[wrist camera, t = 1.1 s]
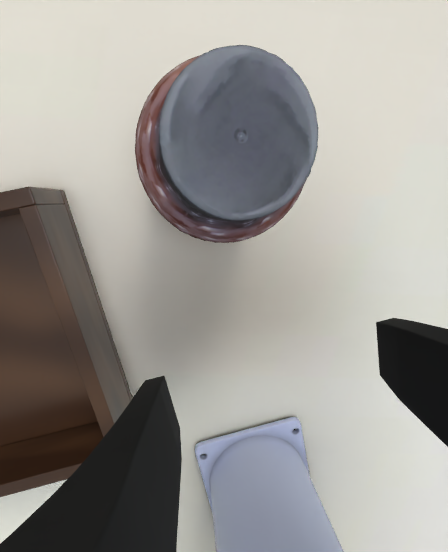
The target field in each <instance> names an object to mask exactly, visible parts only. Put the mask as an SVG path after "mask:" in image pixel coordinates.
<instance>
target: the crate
mask: <svg viewBox="0 0 448 552" xmlns="http://www.w3.org/2000/svg"><path fill="white" fill-rule="evenodd" d="M131 400H132V396H131V393H130V390H129V387H128V384H127V381H126V378H125V375H124V372H123V369H122V366H121V363H120V360H119V357H118V354H117V351H116V348H115V345H114V342H113V339H112V336H111V333H110V330H109V327H108V324H107V321H106V318H105V315H104V311H103V308H102V305H101V302H100V299H99V296H98V293H97V290H96V287H95V284H94V281H93V278H92V275H91V272H90V269H89V266H88V263H87V260H86V257H85V254H84V251H83V248H82V245H81V242H80V239H79V236H78V233H77V230H76V227H75V224H74V221H73V218H72V214H71V211H70V208H69V205H68V202H67V199H66V196H65V193H64V191H63V190H56V189H46V188H36V187H25V188H20V189H15V190H10V191H5V192H0V497H3V496H7V495H10V494H14V493H18V492H21V491H25V490H29V489H32V488H36V487H40V486H44V485H47V484H51V483H55V482H58V481H62V480H66V479H68V478H69V477H70V476H71V475H72V474H73V473H74V472H75V471H76V470H77V469H78V467H79V466H80V465H81V464H82V463H83V462H84V461H85V460H86V458H87V457H88V456H89V455H90V454H91V452H92V451H93V450H94V449H95V447H96V446H97V445H98V444H99V442H100V441H101V440H102V439H103V437H104V436H105V435H106V434H107V432H108V431H109V430H110V429H111V428H112V426H113V425H114V424H115V422H116V421H117V419H118V418H119V417H120V415H121V414H122V413H123V411H124V410H125V408H126V407H127V406H128V404H129V403H130V401H131Z"/></svg>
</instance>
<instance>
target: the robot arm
mask: <svg viewBox="0 0 448 552" xmlns="http://www.w3.org/2000/svg"><path fill="white" fill-rule="evenodd" d="M376 326H377V340H378V355H379V369H380V376H381V377H382V378H383V379H384V381H385V382H386V383H387V385H388V386H389V387H390V389H391V390H392V391H393V392H394V393H395V395H396V396H397V397H398V398H399V399H400V401H401V402H402V403H403V404H404V405H405V406H406V407H407V408H408V409H409V410H410V411H411V412H413V413H414V414H415V415H416V416H417V417H418V418H419V419H420V420H421V421H422V422H423V423H424V424H425V425H426V426H427V427H428V428H429V429H430V430H431V431H432V432H433V433H434V434H435V435H436V436H437V437H438V438H439V439H440V440H441V441H442V442H443V443H445V444H446V445H447V446H448V329H445V328H440V327H436V326H432V325H428V324H423V323H419V322H414V321H409V320H404V319H397V318H392V319H388V320H384V321H380V322H376ZM295 428H297V429H296V430H294V431H293V429H295ZM195 454H196V457H197V461H198V464H199V468H200V471H201V475H202V478H203V482H204V485H205V489H206V492H207V496H208V499H209V503H210V507H211V510H212V514H213V521H214V533H215V544H216V552H344V551H343V549H342V547H341V544H340V542H339V540H338V538H337V536H336V533H335V531H334V529H333V527H332V525H331V522H330V520H329V518H328V516H327V514H326V511H325V509H324V507H323V505H322V503H321V500H320V498H319V496H318V494H317V492H316V489H315V487H314V485H313V483H312V481H311V478H310V475H309V469H308V463H307V457H306V451H305V445H304V439H303V433H302V427H301V423H300V421H299V419H298V418H297V417H291V418H287V419H283V420H279V421H276V422H272V423H268V424H265V425H261V426H257V427H253V428H250V429H246V430H242V431H239V432H235V433H231V434H228V435H224V436H220V437H216V438H213V439H209V440H205V441H202V442H199V443H197V444H196V446H195ZM201 454H205V455H201ZM180 478H181V440H180V427H179V423H178V420H177V417H176V413H175V410H174V407H173V403H172V400H171V396H170V393H169V390H168V386H167V383H166V380H165V376H161V377H157V378H153V379H149V380H145V382H144V383H143V384H142V386H141V387H140V389H139V390H138V391H137V393H136V394H135V396H134V397H133V399H132V400H131V401H130V403H129V404H128V406H127V407H126V408H125V410H124V411H123V413H122V414H121V415H120V417H119V418H118V419H117V421H116V422H115V424H114V425H113V426H112V428H111V429H110V430H109V431H108V432H107V434H106V435H105V436H104V437H103V439H102V440H101V441H100V442H99V444H98V445H97V446H96V447H95V449H94V450H93V451H92V452H91V454H90V455H89V456H88V457H87V458H86V460H85V461H84V462H83V463H82V464H81V465H80V466H79V467H78V469H77V470H76V471H75V472H74V473H73V474H72V475H71V476H70V477H69V478H68V479H67V480H66V481H65V482H64V484H63V485H62V486H61V487H60V488H59V489H58V490H57V491H56V492H55V493H54V494H53V495H52V496H51V497H50V498H49V499H48V500H47V501H46V502H45V503H44V504H43V505H42V506H41V507H39V508H38V509H37V510H36V511H35V512H34V513H33V514H32V515H31V516H30V517H29V518H28V519H27V520H26V521H25V522H24V523H23V524H22V525H20V526H19V527H18V528H17V529H16V530H15V531H14V532H13V533H12V534H11V535H10V536H9V537H8V538H6V539H5V540H4V541H3V542H2V543H1V544H0V552H176V542H177V526H178V510H179V494H180Z"/></svg>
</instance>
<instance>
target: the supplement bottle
mask: <svg viewBox="0 0 448 552" xmlns="http://www.w3.org/2000/svg"><path fill="white" fill-rule="evenodd" d="M317 141H318V124H317V118H316V111H315V107H314V104H313V102H312V100H311V97H310V94H309V92H308V89H307V88H306V86H305V85H304V83H303V81H302V80H301V78H300V76H299V75H298V74H297V73H296V72H295V71H294V70H293V68H291V67H290V66H289V65H288V64H286V63H285V62H284V61H283V60H282V59H281V58H279V57H278V56H276V55H274V54H271V53H268V52H267V51H265V50H262V49H259V48H256V47H252V46H247V45H237V46H227V47H221V48H216V49H213V50H211V51H209V52H208V53H204V54H203V55H200V56H197V57H194V58H191V59H189V60H187V61H185V62H183V63H181V64H180V65H178V66H177V67H175V68H174V69H173V70H171V71H170V72H169V73H167V74H166V75H165V76H164V77H163V78H162V79H161V80H160V81H159V82H158V84H157V85H156V86H155V87H154V89H153V90H152V92H151V93H150V95H149V96H148V97H147V100H146V102H145V103H144V106H143V109H142V111H141V114H140V117H139V120H138V124H137V129H136V144H135V153H136V162H137V169H138V173H139V177H140V180H141V182H142V184H143V187H144V189H145V191H146V193H147V195H148V197H149V198H150V200H151V202H152V204H153V205H154V206H155V208H156V209H157V210H158V211H159V213H160V214H161V215H162V216H163V217H164V218H165V219H166V220H168V221H169V222H170V223H171V224H172V225H173V226H175V227H176V228H177V229H179V230H180V231H182V232H184V233H186V234H189V235H190V236H192V237H195V238H199V239H201V240H204V241H212V242H215V243H218V242H221V243H229V242H237V241H242V240H246V239H249V238H251V237H254V236H257V235H259V234H261V233H263V232H265V231H266V230H267V229H269V228H271V227H272V226H274V225H275V224H276V223H277V222H278V221H279V220H281V219H282V218H283V217H284V216H285V214H286V213H287V212H288V211H289V210H290V209H291V208H292V206H293V205H294V203H295V202H296V200H297V199H298V197H299V195H300V193H301V191H302V188H303V186H304V183H305V182H306V179H307V177H308V176H309V174H310V172H311V167H312V165H313V163H314V160H315V156H316V151H317V147H318V146H317Z"/></svg>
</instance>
